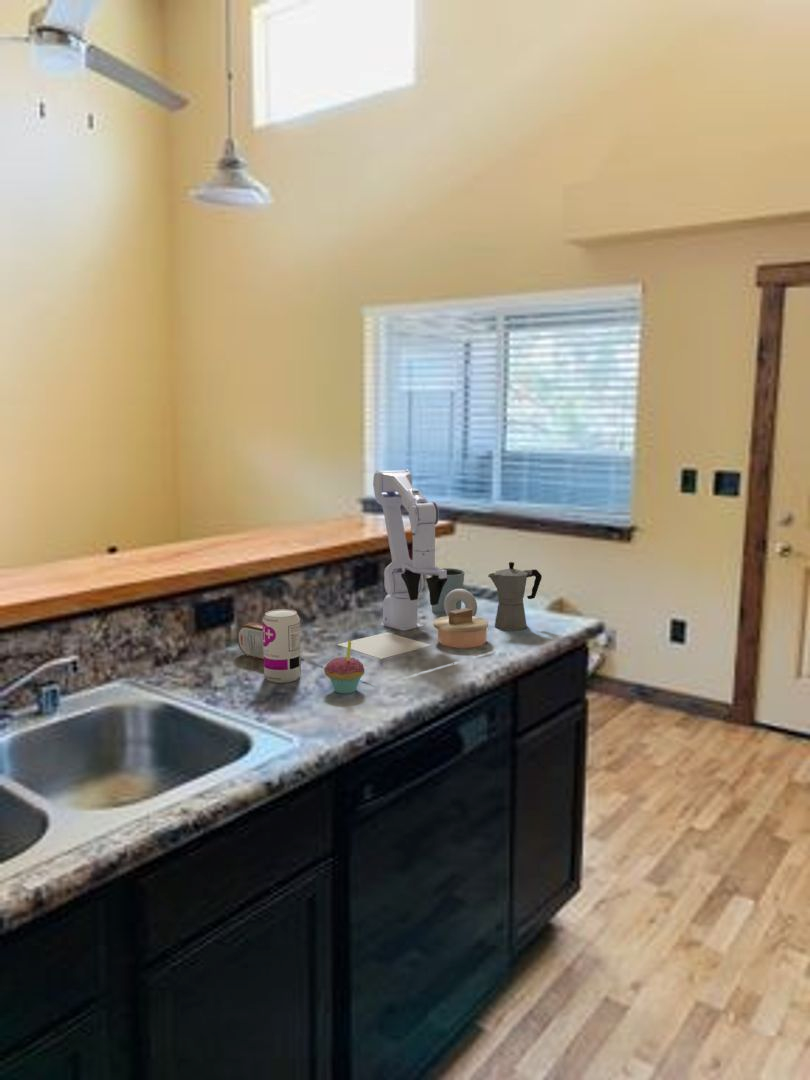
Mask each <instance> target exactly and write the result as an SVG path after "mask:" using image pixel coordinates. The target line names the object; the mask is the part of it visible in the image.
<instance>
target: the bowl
mask: <svg viewBox="0 0 810 1080" xmlns="http://www.w3.org/2000/svg"><path fill="white" fill-rule="evenodd" d="M437 642H439V644H440V645H442V646H446V647H449V648H458V649H459V648H461V649H464V648H465V649H466V648H468V649H469V648H476V647H480V646H483V645H485V644H486V642H487V628H486V629H483V630H480V631H475V632H449V631H443V630H439V629H437Z"/></svg>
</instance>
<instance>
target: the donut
mask: <svg viewBox="0 0 810 1080" xmlns="http://www.w3.org/2000/svg"><path fill="white" fill-rule="evenodd" d="M459 600H460V601H461V602H462V603H463V604H464V606H465V607H464V608H468V609H472V616H474V617H476V615H477V611H478V604H477V603H478V602H477V599H476V597H475V596H474V594H472V592H470V591H469V590H467V589H465V588H463V589H454V590H452V591H451V592H449V593H448V594H447V596H446V598H445V601H444V610H445V612H446V614H445V615H446V616H449V612H450V611H454V610H457V609H456V602H457V601H459Z"/></svg>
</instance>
